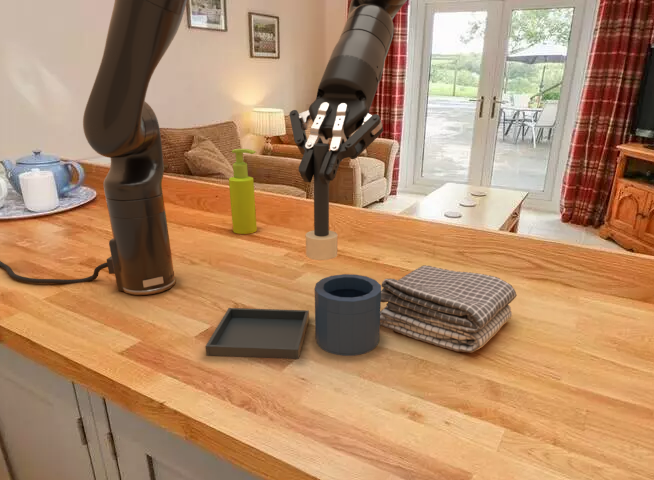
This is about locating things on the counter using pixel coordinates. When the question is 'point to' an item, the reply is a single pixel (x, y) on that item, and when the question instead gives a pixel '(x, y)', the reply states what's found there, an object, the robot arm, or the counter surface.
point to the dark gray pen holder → (347, 314)
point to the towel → (447, 307)
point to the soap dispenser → (242, 196)
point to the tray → (259, 333)
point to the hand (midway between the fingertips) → (314, 179)
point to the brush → (321, 214)
